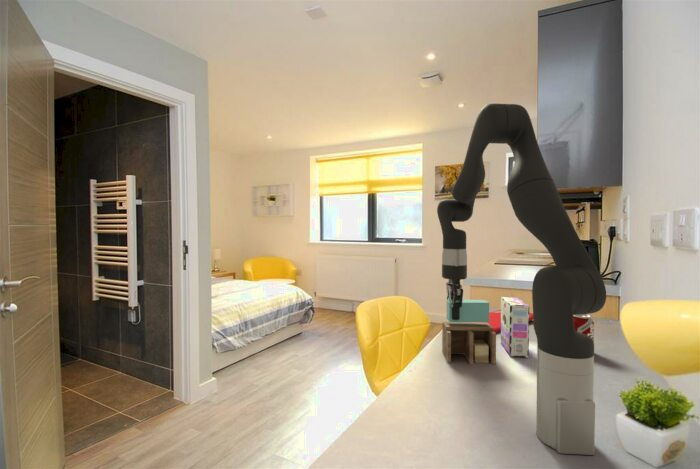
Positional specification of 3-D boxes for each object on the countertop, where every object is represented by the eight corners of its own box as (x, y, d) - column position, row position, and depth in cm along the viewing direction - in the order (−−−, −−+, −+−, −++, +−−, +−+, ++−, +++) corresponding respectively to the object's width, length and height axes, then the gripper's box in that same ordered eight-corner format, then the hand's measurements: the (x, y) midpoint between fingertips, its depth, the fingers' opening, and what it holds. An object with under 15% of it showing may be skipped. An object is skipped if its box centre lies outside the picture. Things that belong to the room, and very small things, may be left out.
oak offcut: (488, 362, 106) (488, 346, 106) (474, 362, 107) (474, 345, 107) (482, 355, 112) (482, 339, 112) (469, 355, 113) (469, 339, 113)
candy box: (529, 358, 110) (530, 305, 109) (509, 357, 111) (509, 304, 110) (517, 344, 123) (518, 296, 123) (499, 342, 124) (500, 296, 124)
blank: (449, 322, 109) (449, 302, 109) (446, 318, 113) (446, 300, 113) (489, 322, 109) (489, 302, 109) (485, 318, 113) (484, 299, 113)
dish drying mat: (444, 329, 142) (444, 320, 142) (503, 315, 165) (503, 307, 165) (478, 340, 129) (478, 329, 129) (537, 322, 152) (537, 313, 152)
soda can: (569, 353, 114) (570, 316, 113) (567, 347, 120) (568, 311, 119) (594, 357, 111) (595, 318, 110) (591, 350, 117) (592, 314, 116)
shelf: (495, 364, 105) (496, 330, 105) (447, 362, 106) (447, 329, 106) (486, 353, 114) (487, 322, 114) (442, 352, 115) (442, 321, 115)
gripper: (438, 260, 118) (438, 312, 119) (446, 265, 104) (446, 323, 105) (461, 261, 118) (461, 312, 118) (472, 265, 104) (472, 324, 104)
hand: (454, 317), depth 111 cm, fingers closed on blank, 4 cm apart
